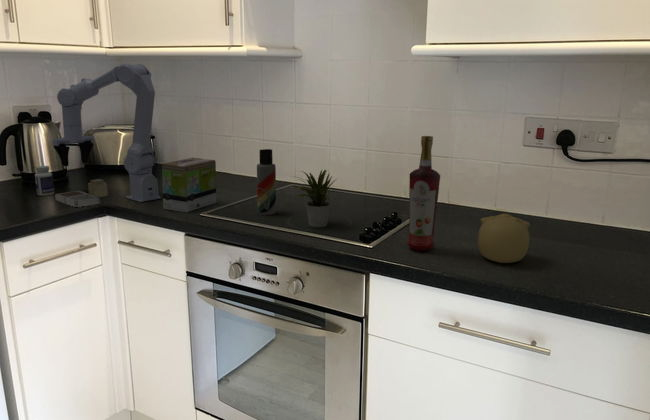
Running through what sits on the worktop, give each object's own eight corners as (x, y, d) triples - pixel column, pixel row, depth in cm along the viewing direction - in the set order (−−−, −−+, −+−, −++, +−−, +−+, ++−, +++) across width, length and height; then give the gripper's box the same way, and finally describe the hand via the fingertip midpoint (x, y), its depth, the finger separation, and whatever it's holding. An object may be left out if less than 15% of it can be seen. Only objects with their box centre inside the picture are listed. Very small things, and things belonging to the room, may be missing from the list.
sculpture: (526, 253, 129) (531, 211, 127) (527, 270, 118) (533, 224, 116) (477, 248, 133) (481, 207, 130) (474, 264, 122) (478, 219, 119)
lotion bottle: (259, 215, 160) (257, 150, 155) (256, 211, 165) (255, 147, 160) (277, 214, 162) (276, 149, 156) (274, 210, 167) (273, 147, 162)
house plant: (298, 215, 161) (298, 162, 157) (343, 218, 159) (345, 164, 154) (287, 228, 147) (287, 171, 143) (336, 232, 145) (337, 173, 141)
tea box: (188, 213, 162) (186, 165, 158) (162, 209, 166) (159, 163, 162) (217, 203, 175) (216, 158, 172) (193, 199, 179) (191, 156, 176)
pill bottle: (57, 192, 186) (54, 165, 184) (48, 196, 181) (45, 168, 179) (43, 192, 187) (39, 165, 184) (33, 195, 182) (30, 167, 179)
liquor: (438, 246, 134) (445, 135, 127) (431, 255, 127) (439, 139, 120) (409, 242, 137) (415, 134, 130) (402, 251, 130) (408, 137, 123)
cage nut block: (108, 195, 183) (106, 180, 182) (95, 198, 180) (93, 182, 179) (101, 193, 186) (100, 178, 185) (89, 195, 183) (87, 180, 181)
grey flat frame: (100, 203, 172) (99, 197, 172) (75, 208, 166) (75, 201, 166) (79, 196, 182) (78, 190, 181) (55, 200, 176) (54, 194, 175)
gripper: (83, 122, 187) (85, 160, 191) (45, 125, 175) (48, 165, 178) (96, 124, 184) (98, 162, 188) (59, 127, 172) (62, 168, 175)
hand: (75, 164), depth 183 cm, fingers open, 7 cm apart
